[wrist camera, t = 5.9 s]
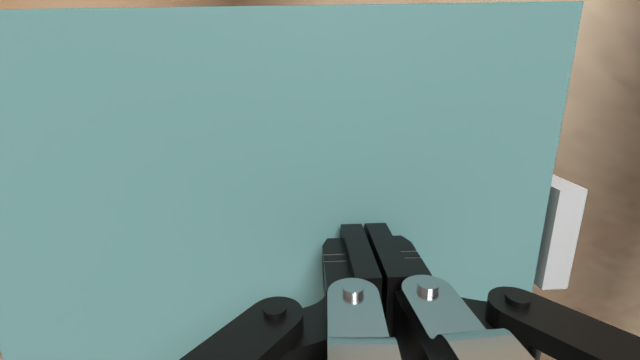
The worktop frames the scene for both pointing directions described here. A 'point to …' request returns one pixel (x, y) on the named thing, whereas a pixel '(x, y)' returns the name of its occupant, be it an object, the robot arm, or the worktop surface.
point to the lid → (268, 160)
